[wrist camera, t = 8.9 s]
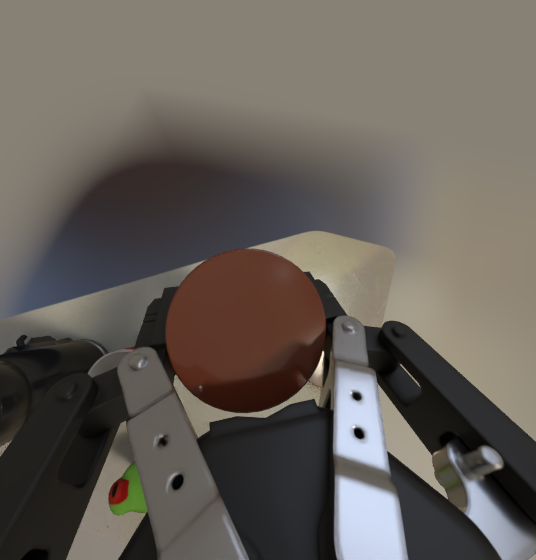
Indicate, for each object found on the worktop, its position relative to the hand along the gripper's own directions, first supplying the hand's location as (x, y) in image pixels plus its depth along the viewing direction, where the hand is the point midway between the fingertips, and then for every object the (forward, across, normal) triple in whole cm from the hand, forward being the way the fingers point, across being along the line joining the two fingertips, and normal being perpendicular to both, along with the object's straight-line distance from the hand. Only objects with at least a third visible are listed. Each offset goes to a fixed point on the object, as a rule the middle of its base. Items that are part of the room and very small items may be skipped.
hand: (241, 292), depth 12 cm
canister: (+5, 0, +7) cm, 9 cm away
